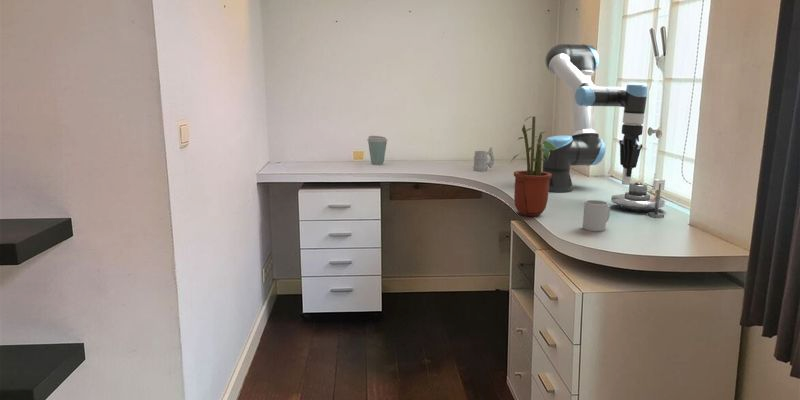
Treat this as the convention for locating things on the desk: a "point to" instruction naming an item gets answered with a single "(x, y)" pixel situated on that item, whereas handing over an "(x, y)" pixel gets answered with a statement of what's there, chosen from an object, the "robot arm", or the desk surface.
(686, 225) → the desk surface
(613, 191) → the desk surface
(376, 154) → the disposable coffee cup
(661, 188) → the dial gauge
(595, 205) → the cup
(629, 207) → the turntable base
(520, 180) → the potted plant
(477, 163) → the mug
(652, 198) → the turntable
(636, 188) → the cover
